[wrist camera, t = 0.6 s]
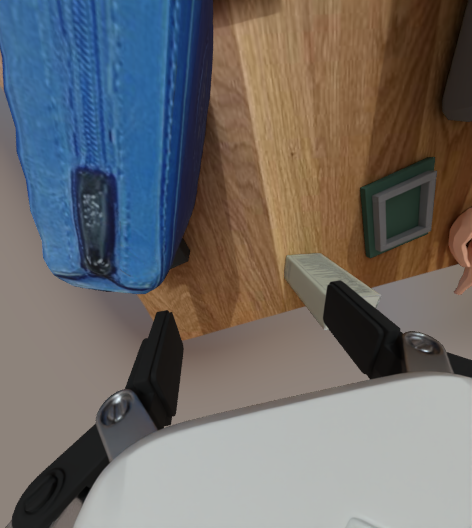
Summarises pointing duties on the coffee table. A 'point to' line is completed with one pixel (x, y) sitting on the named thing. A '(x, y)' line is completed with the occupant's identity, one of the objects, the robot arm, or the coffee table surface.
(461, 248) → the male figurine
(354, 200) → the coffee table surface
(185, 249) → the black block
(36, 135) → the blue piped fabric case
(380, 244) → the base pad
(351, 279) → the cosmetic box
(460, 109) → the alarm clock
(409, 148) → the coffee table surface
